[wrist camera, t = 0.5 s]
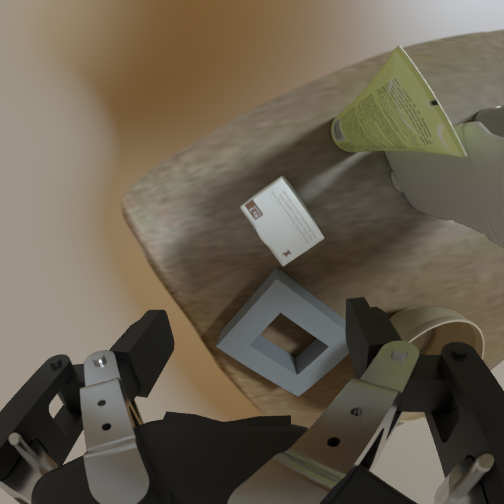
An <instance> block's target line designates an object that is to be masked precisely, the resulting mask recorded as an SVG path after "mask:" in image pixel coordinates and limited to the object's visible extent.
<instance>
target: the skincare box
mask: <svg viewBox="0 0 504 504" xmlns="http://www.w3.org/2000/svg"><path fill="white" fill-rule="evenodd" d="M240 209H241V211H242V212H243V213H244V215H245V216H246V217H247V219H248V220H249V221H250V223H251V224H252V225H253V227H254V228H255V230H256V231H257V233H258V235H259V237H260V238H261V239H262V241H263V242H264V243H265V244H266V245H267V246H268V247H269V249H270V250H271V251H272V253H273V254H274V256H275V257H276V258H277V260H278V261H279V262H280V264H281V265H282V266H285V265H286V264H288V263H289V262H291V261H292V260H294V259H295V258H297V257H298V256H300V255H301V254H303V253H304V252H306V251H307V250H308V249H310V248H311V247H313V246H314V245H316V244H317V243H319V242H320V241H322V240H323V239H324V236H323V234H322V233H321V231H320V229H319V228H318V226H317V224H316V223H315V221H314V219H313V218H312V216H311V214H310V213H309V211H308V209H307V208H306V206H305V204H304V203H303V201H302V200H301V198H300V197H299V196H298V194H297V193H296V191H295V190H294V189H293V187H292V186H291V185H290V183H289V182H288V181H287V179H286V178H285V177H284V176H283V175H282V176H280V177H279V178H278V179H276V180H275V181H274V182H272V183H271V184H269V185H268V186H266V187H265V188H263V189H262V190H260V191H259V192H257V193H256V194H255V195H254V196H252V197H251V198H250V199H249V200H248V201H247V202H245V203H244V204H243V205H241V207H240Z"/></svg>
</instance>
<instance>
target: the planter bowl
mask: <svg viewBox="0 0 504 504" xmlns="http://www.w3.org/2000/svg"><path fill="white" fill-rule="evenodd" d="M389 320H390V321H391V323H392V325H393V326H394V328H395V329H396V331H397V332H398V334H399V336H400V337H401V339H402V341H406V342H409V343H411V344H413V345H415V346H416V347H417V348H418V350H419V354H424V355H440V354H441V350H442V348H443V347H444V346H445V345H446V344H448V343H451V342H463V343H466V344H469V345H470V346H472V347H473V348H474V349H475V350H476V352H477V353H478V354H479V356H480V357H481V359H483V355H484V337H483V334H482V332H481V330H480V329H479V327H478V326H477V325H476V324H474V323H473V322H472V321H470V320H468V319H466V318H464V317H463V316H462V315H460V314H458V313H457V312H455V311H452V310H450V309H447V308H443V307H437V306H424V307H409V308H405V309H403V310H400V311H398V312H397V313H395V314H394V315H393V316H391V317H390V318H389ZM423 418H426V416H425V413H424V412H403V414H402V416H401V418H400V420H399V422H411V421H416V420H420V419H423Z"/></svg>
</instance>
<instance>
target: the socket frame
mask: <svg viewBox="0 0 504 504" xmlns="http://www.w3.org/2000/svg"><path fill="white" fill-rule="evenodd" d="M280 313H282V314H283V315H284V316H286V317H287V318H289V319H290V320H291V321H293V322H294V323H296V324H297V325H299V326H300V327H301V328H303V329H304V330H306V331H307V332H309V333H310V334H311V335H313V336H314V337H316V339H315V340H314V341H313V342H312V343H311V344H310V345H309V346H308V347H307V348H306V349H305V350H304V351H302V352H301V353H300V354H299V355H298V356H297V357H296V358H295V357H294V356H292V355H291V354H289V353H287V352H286V351H284V350H283V349H281V348H280V347H278V346H277V345H275V344H274V343H272V342H271V341H269V340H268V339H266V338H265V337H263V336H262V335H260V333H261V332H262V331H263V330H264V329H265V328H266V327H267V326H268V325H269V324H270V323H271V322H272V321H273V320H274V319H275V318H276V317H277V316H278V315H279V314H280ZM345 328H346V320H345V319H344V318H343V317H341V316H340V315H339V314H338V313H336V312H335V311H334V310H332V309H331V308H330V307H328V306H327V305H326V304H324V303H323V302H322V301H321V300H319V299H318V298H317V297H315V296H314V295H313V294H311V293H310V292H309V291H307V290H306V289H305V288H303V287H302V286H301V285H300V284H298V283H297V282H296V281H294V280H293V279H292V278H290V277H289V276H288V275H286V274H285V273H284V272H283V271H281V270H280V269H279V268H277V267H276V268H275V269H274V271H273V272H272V273H271V274H270V275H269V276H268V278H267V279H266V280H265V281H264V282H263V283H262V285H261V286H260V287H259V288H258V289H257V290H256V291H255V293H254V294H253V295H252V296H251V297H250V298H249V300H248V301H247V302H246V303H245V304H244V305H243V306H242V308H241V309H240V310H239V311H238V312H237V313H236V314H235V315H234V317H233V318H232V319H231V320H230V321H229V322H228V323H227V325H226V326H225V327H224V328H223V329H222V330H221V333H220V336H219V339H218V342H217V345H216V347H217V348H219V349H220V350H222V351H223V352H225V353H226V354H228V355H229V356H231V357H232V358H234V359H236V360H237V361H239V362H240V363H242V364H244V365H245V366H247V367H248V368H250V369H252V370H253V371H255V372H257V373H258V374H260V375H261V376H263V377H265V378H267V379H268V380H270V381H272V382H273V383H275V384H277V385H278V386H280V387H282V388H284V389H285V390H287V391H289V392H291V393H293V394H294V395H296V396H298V397H299V396H300V395H301V394H302V393H304V392H305V391H306V390H307V389H309V388H310V387H311V386H312V385H314V384H315V383H316V382H317V381H318V380H320V379H321V378H322V377H323V376H324V375H325V374H327V373H328V372H329V371H330V370H331V369H332V368H333V367H335V366H336V365H337V364H338V363H339V362H340V361H341V360H342V359H344V358H345V357H346V356H347V355H348V354H349V350H348V347H347V343H346V335H345Z"/></svg>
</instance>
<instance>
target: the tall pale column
mask: <svg viewBox="0 0 504 504" xmlns="http://www.w3.org/2000/svg"><path fill="white" fill-rule="evenodd" d="M453 128H454V130H455V132H456V134H457V136H458V138H459V140H460V142H461V144H462V146H463V148H464V150H465V152H466V154H467V157H457V156H452V155H445V154H438V153H429V152H416V151H384V153H385V155H386V158H387V160H388V163H389V165H390V168H391V170H392V172H391V181H392V183H393V185H394V187H395V188H396V189H397V190H398V191H399V192H402V193H404V195H405V196H406V198H407V199H408V201H409V202H410V204H411V205H412V207H413V208H414V209H416V210H417V211H420V212H423V213H426V214H429V215H431V216H434V217H437V218H440V219H442V220H445V221H446V220H453V221H455V222H458V223H460V224H463V225H465V226H467V227H469V228H472V229H474V230H476V231H478V232H480V233H482V234H484V235H485V236H486V237H487V238H488V239H489V240H490V241H491V242H493V243H495V244H497V245H498V246H501V247H503V248H504V138H503V137H500V136H497V135H494V134H492V133H491V132H490V131H489V130H488V129H487V128H486V127H485V126H484V125H483V124H482V123H480V122H477V121H475V122H469V123H464V124H458V125H456V126H453Z"/></svg>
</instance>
